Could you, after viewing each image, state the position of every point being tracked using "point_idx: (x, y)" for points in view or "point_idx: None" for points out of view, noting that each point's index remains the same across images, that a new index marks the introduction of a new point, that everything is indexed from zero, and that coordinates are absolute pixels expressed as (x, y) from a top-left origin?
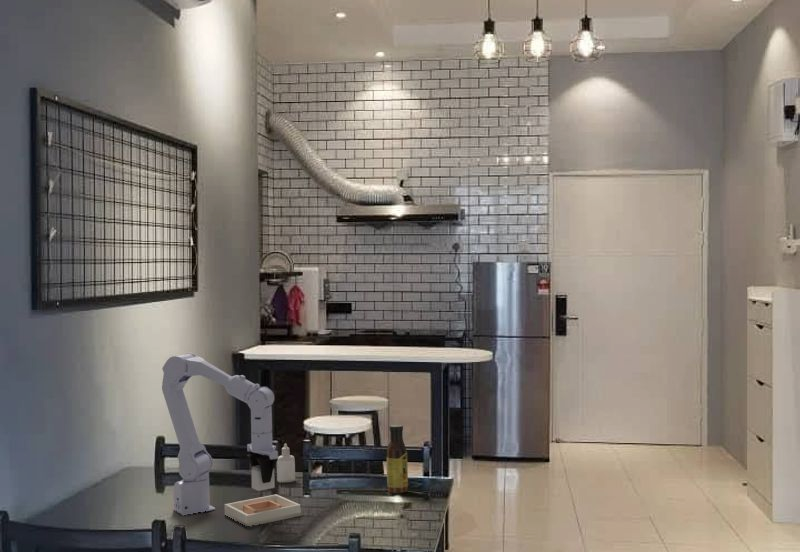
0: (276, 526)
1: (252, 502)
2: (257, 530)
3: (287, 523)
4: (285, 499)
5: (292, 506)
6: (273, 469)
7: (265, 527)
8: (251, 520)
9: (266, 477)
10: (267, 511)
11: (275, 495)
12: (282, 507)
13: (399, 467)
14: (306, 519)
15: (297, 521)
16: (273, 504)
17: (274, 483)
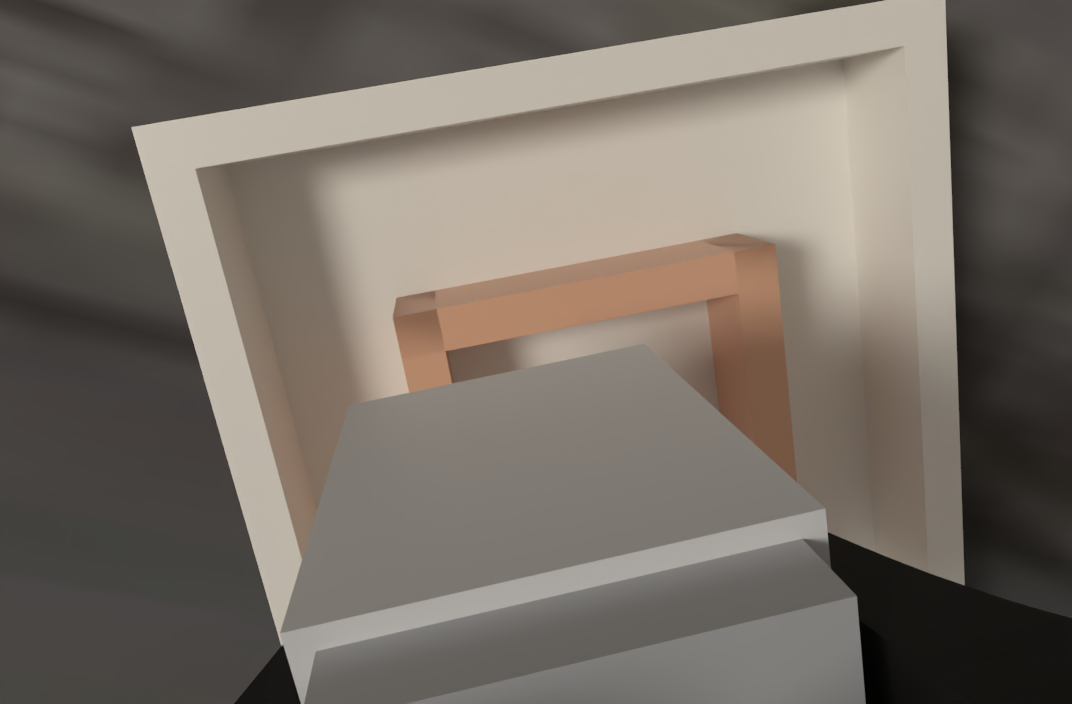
0: (1046, 403)
1: (307, 534)
2: (1042, 597)
3: (1027, 267)
4: (541, 98)
5: (948, 133)
6: (826, 533)
7: (1006, 509)
8: None
9: None
10: (959, 504)
11: (205, 166)
12: (512, 148)
13: None
14: (1030, 8)
15: (1032, 139)
16: (599, 315)
17: (668, 367)
